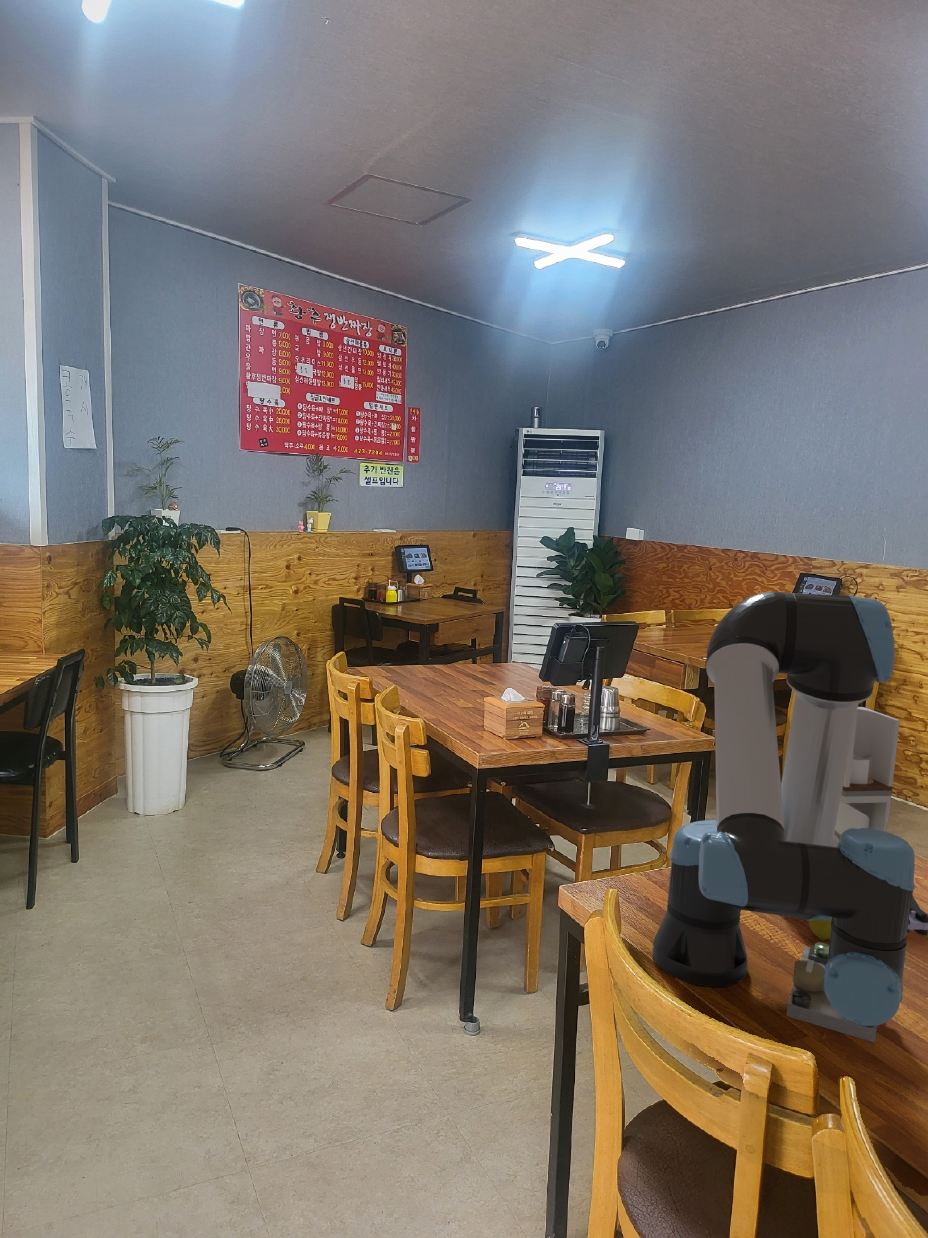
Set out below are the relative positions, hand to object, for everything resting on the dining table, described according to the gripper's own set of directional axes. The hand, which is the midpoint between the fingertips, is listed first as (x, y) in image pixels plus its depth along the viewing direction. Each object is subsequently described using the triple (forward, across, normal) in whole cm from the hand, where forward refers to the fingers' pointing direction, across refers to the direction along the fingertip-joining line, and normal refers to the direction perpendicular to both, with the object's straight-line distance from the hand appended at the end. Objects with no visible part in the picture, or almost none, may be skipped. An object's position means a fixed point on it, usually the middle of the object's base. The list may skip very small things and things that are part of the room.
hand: (879, 869), depth 122 cm
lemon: (+24, -8, -24) cm, 35 cm away
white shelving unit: (+58, -8, -24) cm, 63 cm away
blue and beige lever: (+3, -4, -22) cm, 22 cm away
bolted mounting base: (+6, -4, -24) cm, 25 cm away
